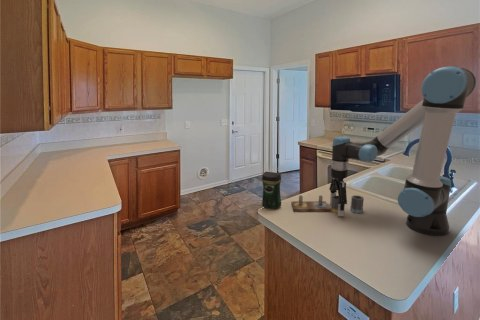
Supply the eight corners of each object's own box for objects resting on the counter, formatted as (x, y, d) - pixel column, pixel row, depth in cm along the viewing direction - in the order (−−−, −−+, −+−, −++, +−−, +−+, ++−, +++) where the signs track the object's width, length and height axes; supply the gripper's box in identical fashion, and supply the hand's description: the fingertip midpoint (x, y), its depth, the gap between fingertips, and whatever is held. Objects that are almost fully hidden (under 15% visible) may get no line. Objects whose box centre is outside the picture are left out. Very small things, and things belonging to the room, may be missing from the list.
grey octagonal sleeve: (365, 211, 132) (366, 197, 131) (358, 213, 130) (359, 200, 128) (354, 207, 137) (356, 194, 135) (348, 210, 134) (349, 196, 133)
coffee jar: (282, 205, 142) (283, 171, 138) (277, 210, 135) (277, 175, 131) (265, 202, 146) (266, 169, 142) (260, 207, 140) (259, 173, 135)
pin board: (325, 203, 142) (326, 191, 141) (330, 211, 132) (331, 198, 131) (291, 204, 143) (291, 192, 142) (294, 211, 133) (294, 199, 132)
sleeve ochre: (345, 211, 133) (346, 197, 131) (337, 214, 130) (338, 200, 128) (335, 207, 137) (336, 194, 136) (328, 210, 135) (329, 197, 133)
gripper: (324, 162, 141) (322, 200, 146) (339, 176, 117) (336, 221, 122) (339, 162, 140) (336, 200, 145) (357, 176, 117) (353, 221, 122)
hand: (336, 210), depth 134 cm, fingers open, 12 cm apart
